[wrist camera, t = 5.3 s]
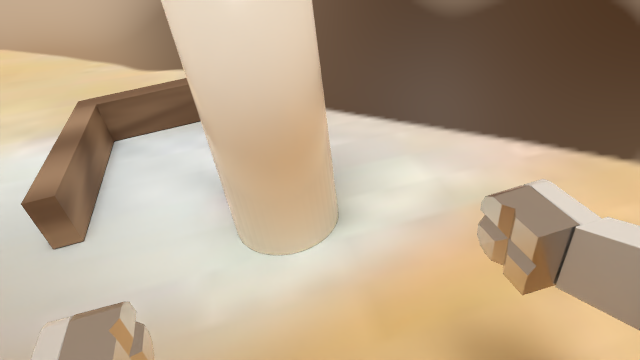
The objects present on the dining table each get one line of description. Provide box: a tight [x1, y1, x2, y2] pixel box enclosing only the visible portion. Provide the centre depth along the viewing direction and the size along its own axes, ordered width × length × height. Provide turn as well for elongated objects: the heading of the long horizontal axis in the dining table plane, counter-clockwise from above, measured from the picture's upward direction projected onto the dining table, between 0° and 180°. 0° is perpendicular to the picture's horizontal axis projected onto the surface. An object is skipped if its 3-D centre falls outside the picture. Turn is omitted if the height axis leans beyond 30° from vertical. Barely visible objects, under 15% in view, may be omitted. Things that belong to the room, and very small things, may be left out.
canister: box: [161, 0, 338, 255], centre depth 17 cm, size 5×5×13 cm
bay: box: [21, 78, 201, 249], centre depth 26 cm, size 13×13×3 cm
